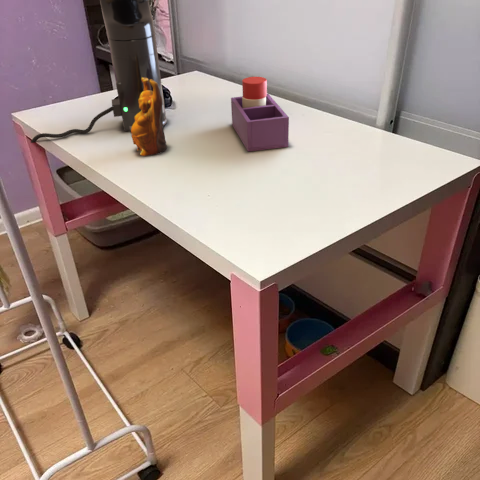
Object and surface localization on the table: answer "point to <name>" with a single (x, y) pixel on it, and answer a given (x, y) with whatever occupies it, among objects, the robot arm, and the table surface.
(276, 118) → the purple divided box
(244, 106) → the cream token high
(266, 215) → the table surface
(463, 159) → the table surface
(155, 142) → the figurine
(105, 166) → the table surface
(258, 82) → the cylinder
